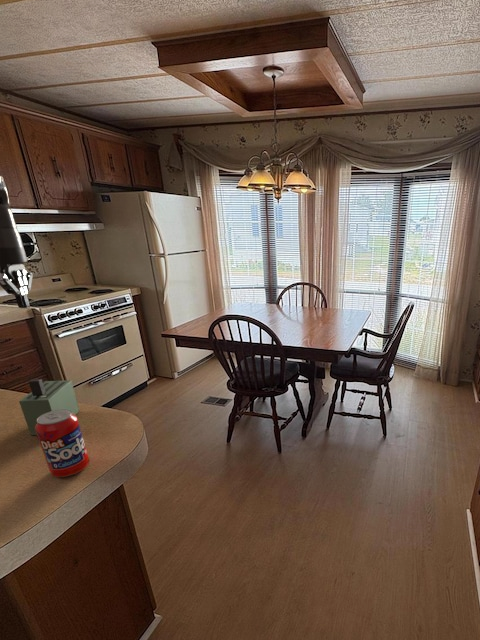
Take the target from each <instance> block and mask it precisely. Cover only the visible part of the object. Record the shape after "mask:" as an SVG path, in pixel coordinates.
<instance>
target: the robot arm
mask: <svg viewBox="0 0 480 640" xmlns="http://www.w3.org/2000/svg"><path fill="white" fill-rule="evenodd" d="M27 263H28V258H27V254H26V251H25V248H24V243H23V240H22V237H21V234H20V232H19V230H18V227H17V223H16V220H15V215H14V214H13V210H12V208H11V206H10V199H9V194H8V190H7V185H6V182H5V178H4V177H3V175H2V174H1V173H0V287H1V288H2V289H3V291H5V292H6V293H7V295H13V296H14V297H15V300H16V304H17V307H18V308H19V309H27V308H29V307H30V306H31V305H30V301H29V298H28V293H29V292H30V291H31V290H32V284H33V276H34V275H33V272H28V271H27V269H26V267H25V265H24V264H27Z"/></svg>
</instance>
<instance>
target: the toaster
mask: <svg viewBox="0 0 480 640" xmlns="http://www.w3.org/2000/svg"><path fill="white" fill-rule="evenodd" d="M43 385H44V388H45V391H46V393H45V394H44V395H43V396H33V394H32V391H31V392H29V393H28V394H26V395H25V396H24V397H23V398H22V399H20V400H19V401H18V402H19V405H20V408H21V412H22V414H23V417H24V420H25V422H26V425H27V426H26V427H27V428H28V431H29V434H30V436H37V433H36V430H35V426H36V424H37V419H38V418H39V417H40V416H41V415H43V414H45V413H48V412H51V411H54V410H61V409H66V410H70V411H71V412H72V414H74V415H75V416H77V415H78V413H79V412H80V411H81V410H80V407H79V403H78V399H77V396H76V393H75V388H74V386H73V382H72V379H69V380H46V381H44V382H43Z"/></svg>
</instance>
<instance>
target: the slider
mask: <svg viewBox="0 0 480 640" xmlns="http://www.w3.org/2000/svg"><path fill="white" fill-rule="evenodd" d="M43 383H44V382H43V379H42V378H31V379H30V380H28V384H29V389H30V390H31V392H32V394H33V396H43V395H44V394H45V393H46V391H45V388H44V385H43Z"/></svg>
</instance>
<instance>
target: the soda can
mask: <svg viewBox="0 0 480 640" xmlns="http://www.w3.org/2000/svg"><path fill="white" fill-rule="evenodd" d="M35 430H36V433H37V435H36V436H37V438H38V441H39V444H40V448H41V450H42V454H43V456H44V459H45V462H46V465H47V468H48V470H49V473H50V475H52V476H53V477H56V478H64V477H70V476H73V475H76V474H78V473H79V472H82V471H83V470H84V469H86V467H87V466H88V465H89V463H90V458H89V455H88V451H87V450H88V449H87V447H86V443H85V440H84V436H83V434H82V429H81V426H80V422H79V419H78V416H77V415H74V414H72V412H71V411H70V410H66V409H61V410H54V411H51V412H48V413H45V414H43V415H41V416H40V417H39V418H38V419H37V424H36V426H35Z"/></svg>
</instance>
